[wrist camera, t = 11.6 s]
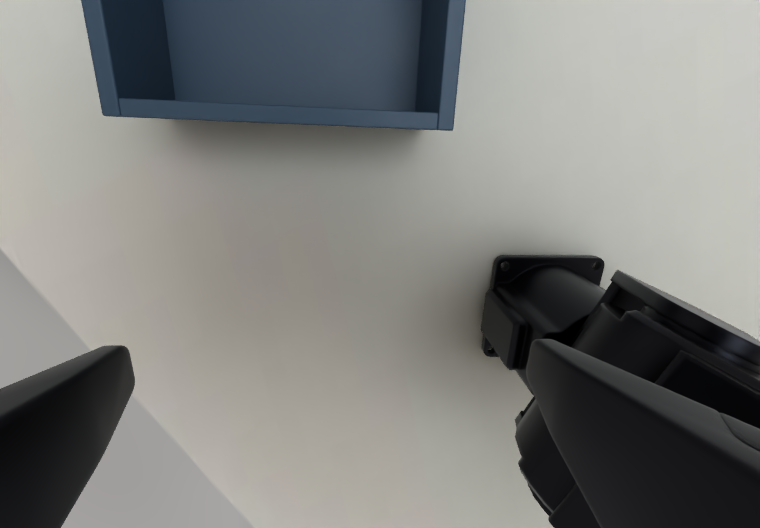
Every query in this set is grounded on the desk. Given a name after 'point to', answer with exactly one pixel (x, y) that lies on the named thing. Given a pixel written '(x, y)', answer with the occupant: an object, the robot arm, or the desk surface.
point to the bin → (279, 60)
